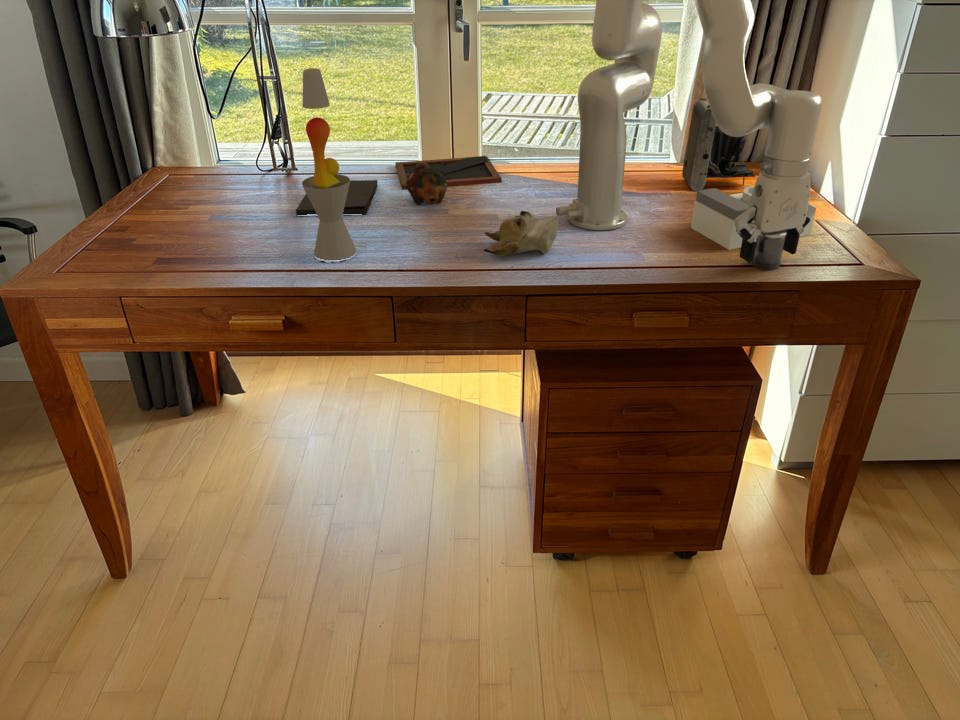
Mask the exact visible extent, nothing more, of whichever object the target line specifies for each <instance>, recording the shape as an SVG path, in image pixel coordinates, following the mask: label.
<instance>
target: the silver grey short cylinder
mask: <svg viewBox="0 0 960 720" xmlns="http://www.w3.org/2000/svg"><path fill="white" fill-rule="evenodd" d="M786 235H787V230H782V231H777V232H771V233H763V232H761V233H760V234H759V235H758V237H757V238H756V249H755V254H754V260H753V262H751V265H752V267H754V268H756V269H759V270H762V271H775V270H777V269H779V268H780V265H781V261H782V256H783V251H784V250H783V247H784V242H785V237H786Z"/></svg>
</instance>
